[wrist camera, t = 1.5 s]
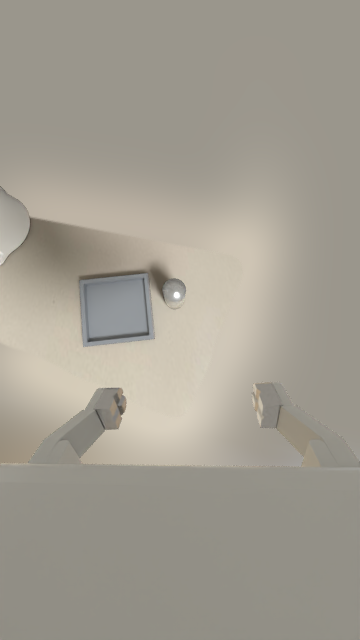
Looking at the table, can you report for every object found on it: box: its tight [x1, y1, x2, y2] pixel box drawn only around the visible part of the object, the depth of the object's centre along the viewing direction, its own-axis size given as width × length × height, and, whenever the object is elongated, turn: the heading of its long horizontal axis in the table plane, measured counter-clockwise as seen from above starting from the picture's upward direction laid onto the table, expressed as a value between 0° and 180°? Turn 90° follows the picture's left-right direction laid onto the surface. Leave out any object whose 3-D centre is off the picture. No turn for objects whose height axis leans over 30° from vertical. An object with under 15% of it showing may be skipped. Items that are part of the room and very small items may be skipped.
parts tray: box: [79, 273, 155, 347], centre depth 39 cm, size 14×14×2 cm
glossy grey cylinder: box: [162, 279, 186, 309], centre depth 36 cm, size 4×4×8 cm
